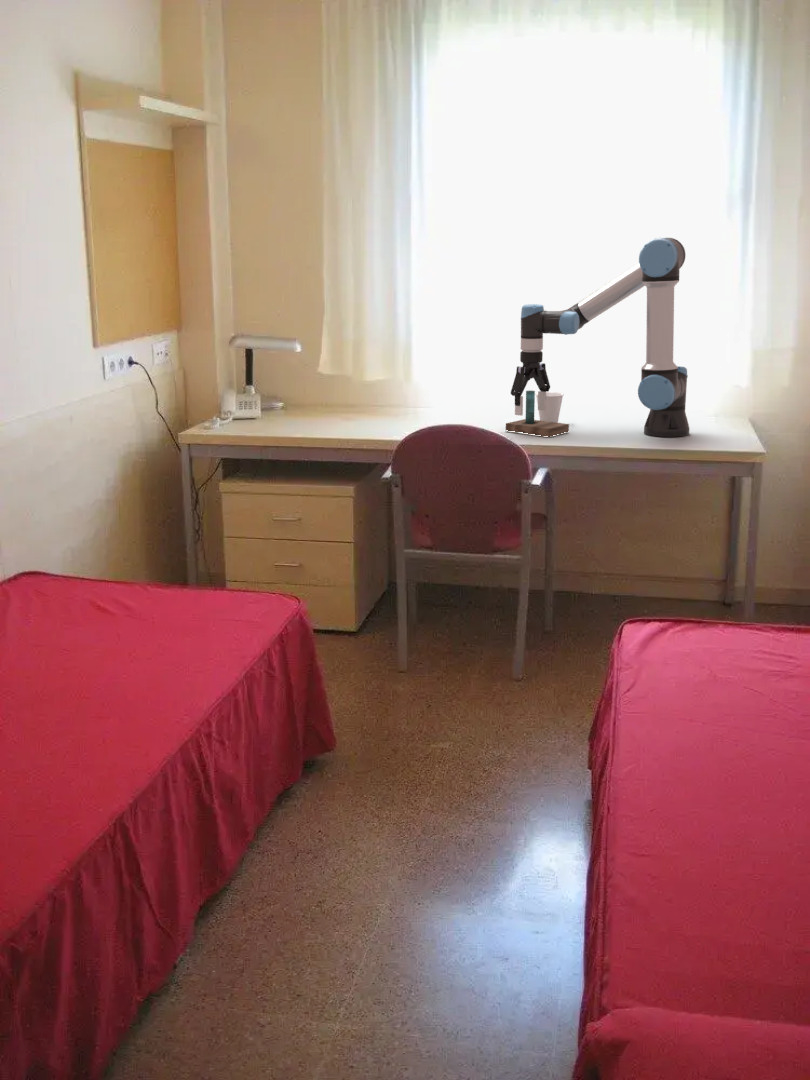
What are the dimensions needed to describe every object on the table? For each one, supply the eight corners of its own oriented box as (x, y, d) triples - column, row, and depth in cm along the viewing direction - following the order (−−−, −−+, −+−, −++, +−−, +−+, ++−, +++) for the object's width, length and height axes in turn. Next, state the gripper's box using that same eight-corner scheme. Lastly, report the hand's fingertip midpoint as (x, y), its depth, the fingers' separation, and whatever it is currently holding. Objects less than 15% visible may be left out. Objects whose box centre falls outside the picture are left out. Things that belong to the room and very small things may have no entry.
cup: (543, 427, 406) (544, 396, 403) (530, 423, 415) (530, 393, 412) (567, 425, 410) (568, 394, 407) (554, 421, 419) (555, 391, 416)
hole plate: (568, 432, 396) (568, 424, 395) (548, 437, 387) (549, 428, 386) (525, 427, 407) (526, 418, 406) (505, 431, 399) (505, 423, 398)
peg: (535, 431, 399) (536, 391, 396) (530, 432, 397) (531, 391, 393) (528, 430, 401) (529, 390, 397) (523, 431, 399) (524, 391, 395)
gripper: (543, 347, 403) (541, 407, 409) (500, 353, 385) (499, 416, 391) (561, 348, 398) (559, 409, 404) (519, 354, 380) (517, 418, 386)
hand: (530, 412), depth 397 cm, fingers open, 13 cm apart
